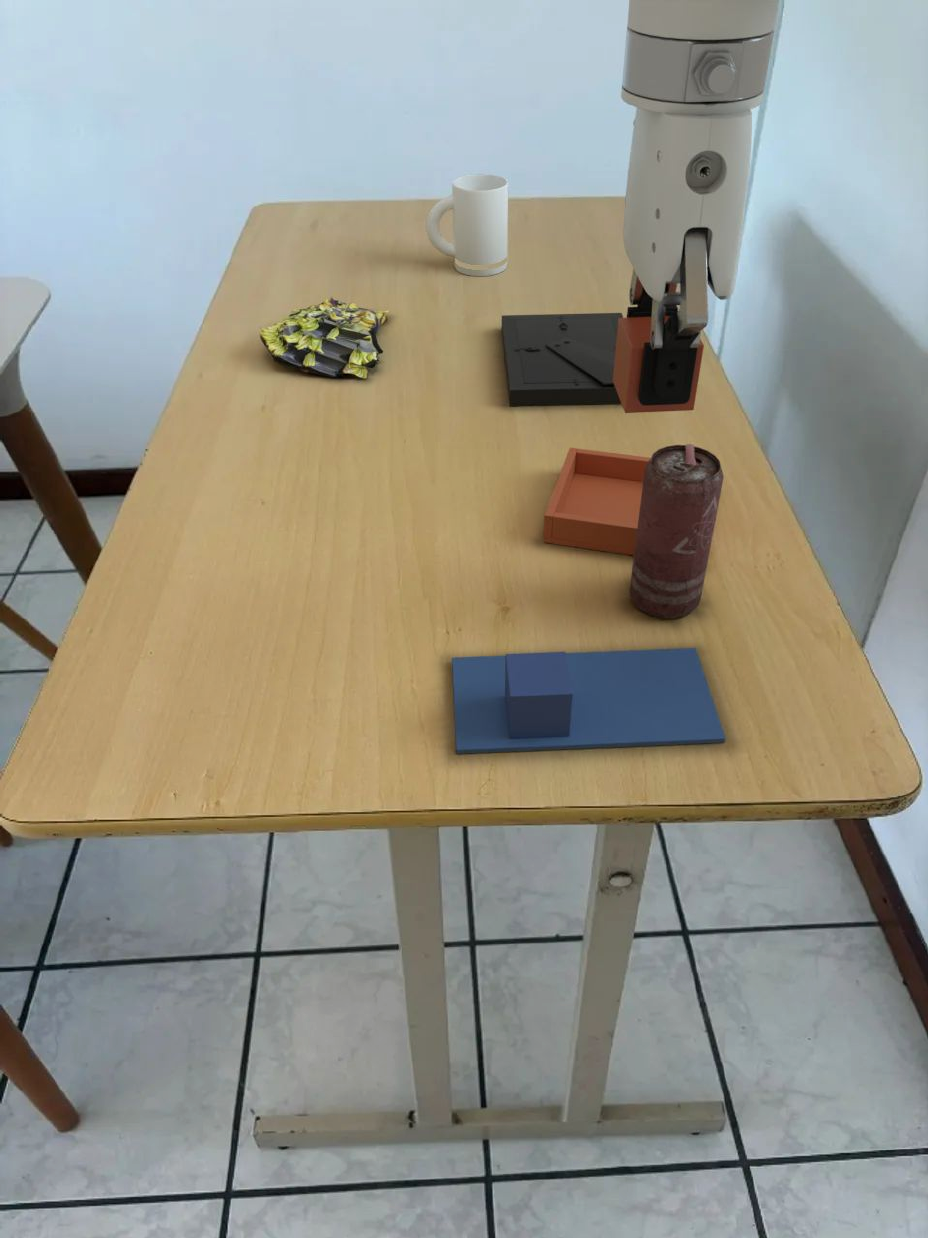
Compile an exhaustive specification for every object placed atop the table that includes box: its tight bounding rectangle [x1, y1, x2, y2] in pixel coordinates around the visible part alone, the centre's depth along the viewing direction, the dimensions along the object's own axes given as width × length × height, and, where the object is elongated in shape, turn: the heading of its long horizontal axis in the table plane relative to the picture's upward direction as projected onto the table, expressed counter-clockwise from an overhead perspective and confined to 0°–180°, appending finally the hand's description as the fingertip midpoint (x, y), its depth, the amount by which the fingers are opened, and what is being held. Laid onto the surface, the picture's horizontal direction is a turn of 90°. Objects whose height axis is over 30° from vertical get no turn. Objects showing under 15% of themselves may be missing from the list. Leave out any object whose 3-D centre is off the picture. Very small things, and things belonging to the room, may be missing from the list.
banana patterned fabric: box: [259, 296, 390, 379], centre depth 124 cm, size 20×16×7 cm
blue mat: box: [451, 647, 727, 755], centre depth 75 cm, size 20×10×1 cm, turn 92°
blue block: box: [505, 651, 573, 739], centre depth 71 cm, size 4×4×4 cm
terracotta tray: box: [542, 447, 651, 557], centre depth 93 cm, size 15×13×3 cm
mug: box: [425, 173, 509, 277], centre depth 140 cm, size 8×12×12 cm
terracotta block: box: [613, 316, 705, 414], centre depth 62 cm, size 4×4×4 cm
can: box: [629, 443, 724, 620], centre depth 80 cm, size 6×6×14 cm
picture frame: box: [501, 312, 624, 407], centre depth 118 cm, size 16×3×21 cm
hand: (654, 380), depth 63 cm, fingers closed on terracotta block, 4 cm apart
